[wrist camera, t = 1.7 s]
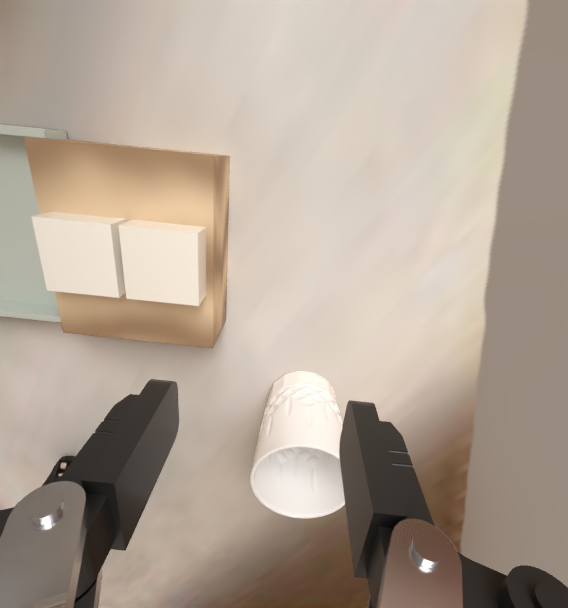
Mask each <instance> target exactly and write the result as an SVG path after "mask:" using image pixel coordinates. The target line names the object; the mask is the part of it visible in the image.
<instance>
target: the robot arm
mask: <svg viewBox="0 0 568 608" xmlns="http://www.w3.org/2000/svg"><path fill="white" fill-rule="evenodd" d="M178 426H179V410H178V388H177V383H176V382H173V381H164V380H154V379H151V380H150V381H149V382H148V383H147V384H146V386H145V387H144V389H143V390H142V392H141V393H140V395H133V394H130V395H128V396H127V397H126V398H124V399H123V400H121V401H120V402H118V403H117V404H116V405H114V407H113V408H112V409H111V411H110V412H109V413H108V415H107V416H106V417H105V419H104V422H102V423H101V424H100V425H99V427H98V428H97V429H96V432H95V433H93V434H92V436H91V437H90V438H89V440H88V441H87V442H86V444H85V445H84V446H83V448H82V449H81V450H80V452H79V453H78V454H77V456H76V457H75V458H74V460H73V461H72V462H71V464H70V465H69V466H68V468H67V469H66V470H65V472H64V473H63V474H62V476H61V477H60V478H59V479H58V481H57V482H54V483H50V484H47V485H44V486H42V487H40V488H38V489H36V490H34V491H33V492H31V493H30V494H28V495H27V496H26V497H24V498H23V499H22V500H21V501H20V502H19V503H18V504H17V505H16V506H15V507H14V508H9V509H5V510H0V608H98V605H99V597H100V589H101V580H102V565H103V563H104V561H105V559H106V557H107V555H108V553H109V551H110V549H115V550H124V551H125V550H126V548H127V546H128V544H129V541H130V539H131V537H132V535H133V532H134V530H135V528H136V526H137V523H138V521H139V519H140V517H141V515H142V512H143V510H144V508H145V506H146V503H147V501H148V499H149V497H150V495H151V492H152V490H153V488H154V486H155V483H156V481H157V479H158V477H159V474H160V472H161V470H162V468H163V466H164V463H165V461H166V459H167V457H168V454H169V452H170V450H171V448H172V446H173V443H174V441H175V438H176V435H177V431H178ZM339 457H340V466H341V474H342V482H343V490H344V498H345V506H346V514H347V522H348V530H349V538H350V546H351V554H352V563H353V571H354V577H360V578H367V580H368V586H369V593H370V598H369V601H368V604H367V608H568V588H567V587H566V586H565V585H564V584H563V583H562V582H560V581H559V580H557V579H556V578H555V577H553V576H552V575H550V574H548V573H547V572H545V571H543V570H540V569H538V568H535V567H531V566H518V567H515V568H514V569H512V570H511V572H510V573H509V574H508V576H506V575H504V574H502V573H499V572H497V571H495V570H492V569H490V568H488V567H486V566H483V565H481V564H479V563H476V562H474V561H472V560H470V559H468V558H466V557H465V556H463V555H462V554H460V553H459V552H457V550H456V548H455V547H454V545H453V543H452V542H451V541H450V539H449V538H448V537H447V536H446V535H445V534H444V533H443V532H442V531H441V530H439V529H438V528H437V527H435V525H434V523H433V520H432V518H431V515H430V512H429V509H428V507H427V504H426V501H425V498H424V495H423V493H422V490H421V487H420V484H419V482H418V479H417V476H416V473H415V470H414V468H412V462H411V459H410V456H409V455H408V451H407V448H406V445H405V442H404V440H403V437H402V435H401V434H400V433H399V432H398V431H397V429H396V428H395V427H394V426H393V425H392V423H391V422H383V421H379V418H378V414H377V411H376V407H375V405H374V403H368V402H359V401H349V402H348V404H347V408H346V413H345V418H344V422H343V427H342V432H341V437H340V445H339Z"/></svg>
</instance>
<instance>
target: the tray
mask: <svg viewBox="0 0 568 608" xmlns="http://www.w3.org/2000/svg"><path fill="white" fill-rule="evenodd" d="M24 137H33V138H47V139H61V140H68V135H67V131H62V130H53V129H43V128H33V127H23V126H13V125H3V124H0V316H4V317H13V318H23V319H33V320H42V321H52V322H61V320H60V315H59V310H58V305H57V300H56V295H55V291H47V288H46V283H45V279H44V274H43V269H42V264H41V260H40V255H39V250H38V245H37V241H36V236H35V231H34V227H33V222H32V217H31V216H36V215H39V210H38V205H37V200H36V195H35V190H34V185H33V180H32V175H31V170H30V165H29V160H28V156H27V151H26V146H25V141H24Z"/></svg>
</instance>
